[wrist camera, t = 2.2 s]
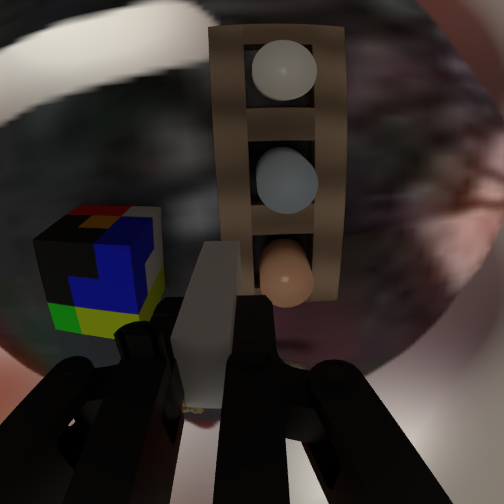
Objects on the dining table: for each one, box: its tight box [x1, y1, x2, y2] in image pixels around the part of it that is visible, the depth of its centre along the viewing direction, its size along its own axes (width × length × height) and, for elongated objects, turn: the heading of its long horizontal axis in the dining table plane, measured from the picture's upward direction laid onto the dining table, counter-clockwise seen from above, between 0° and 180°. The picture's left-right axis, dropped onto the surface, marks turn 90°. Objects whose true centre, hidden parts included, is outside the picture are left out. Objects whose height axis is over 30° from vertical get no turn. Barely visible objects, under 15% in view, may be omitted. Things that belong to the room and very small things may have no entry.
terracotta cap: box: [259, 238, 314, 307], centre depth 31 cm, size 5×5×5 cm
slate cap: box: [256, 146, 318, 214], centre depth 27 cm, size 5×5×5 cm
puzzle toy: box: [33, 205, 165, 339], centre depth 31 cm, size 10×10×10 cm
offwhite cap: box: [252, 40, 317, 101], centre depth 23 cm, size 5×5×5 cm
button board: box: [208, 24, 347, 302], centre depth 30 cm, size 28×12×3 cm, turn 2°
